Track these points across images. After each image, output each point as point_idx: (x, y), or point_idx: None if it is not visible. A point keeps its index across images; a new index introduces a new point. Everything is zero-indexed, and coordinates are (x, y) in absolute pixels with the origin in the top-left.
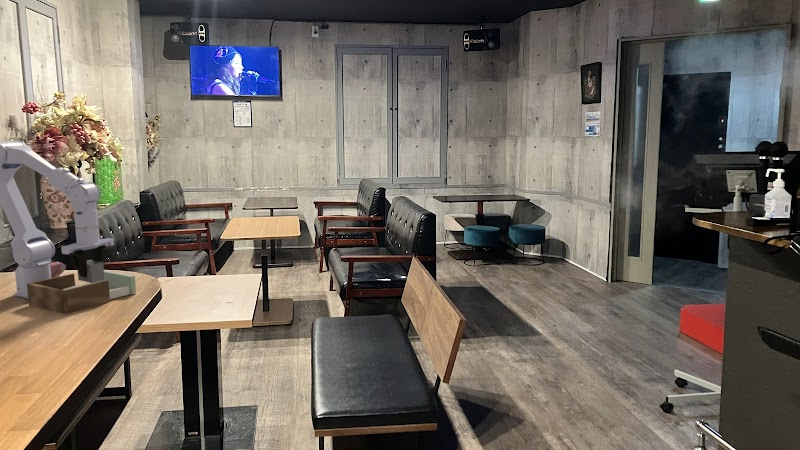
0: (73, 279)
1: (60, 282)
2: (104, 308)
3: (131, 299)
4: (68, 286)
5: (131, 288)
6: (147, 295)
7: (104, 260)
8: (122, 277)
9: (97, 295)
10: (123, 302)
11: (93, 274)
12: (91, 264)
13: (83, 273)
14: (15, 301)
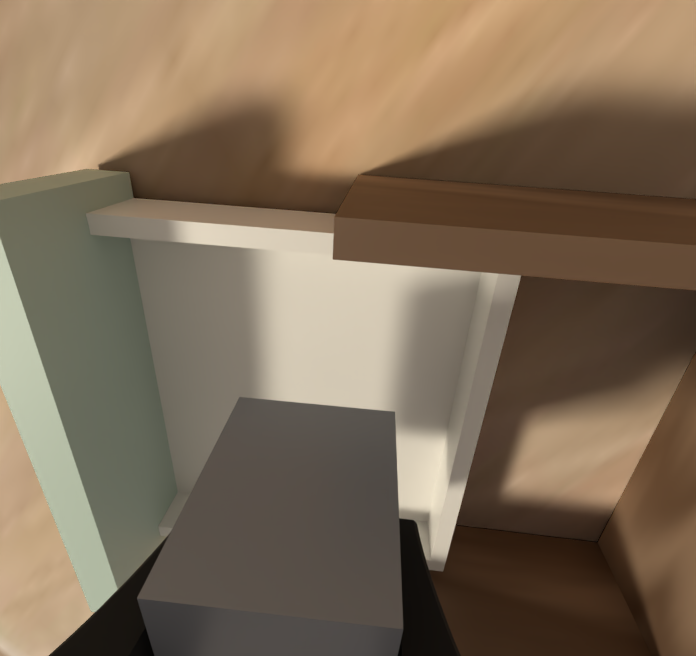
0: None
1: None
2: (555, 11)
3: (209, 44)
4: None
5: (94, 178)
6: (36, 14)
7: (68, 638)
8: (58, 337)
9: (495, 199)
10: (316, 22)
11: (363, 475)
12: (353, 638)
13: (423, 565)
14: None
